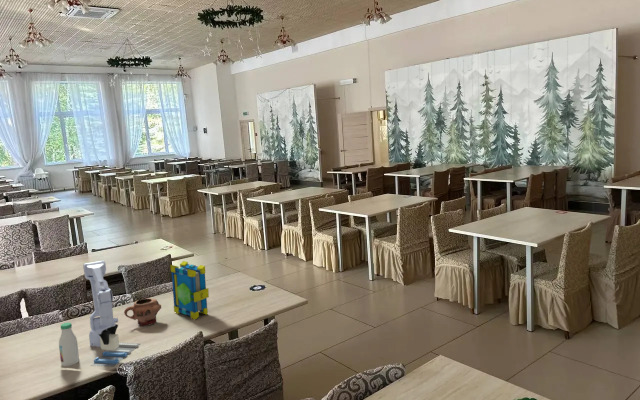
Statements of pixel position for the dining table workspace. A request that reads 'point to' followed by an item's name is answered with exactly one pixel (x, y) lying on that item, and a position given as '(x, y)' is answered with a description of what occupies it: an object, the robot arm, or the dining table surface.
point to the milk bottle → (68, 346)
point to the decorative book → (189, 289)
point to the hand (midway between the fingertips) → (109, 342)
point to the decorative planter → (144, 311)
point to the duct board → (115, 355)
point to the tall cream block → (111, 342)
